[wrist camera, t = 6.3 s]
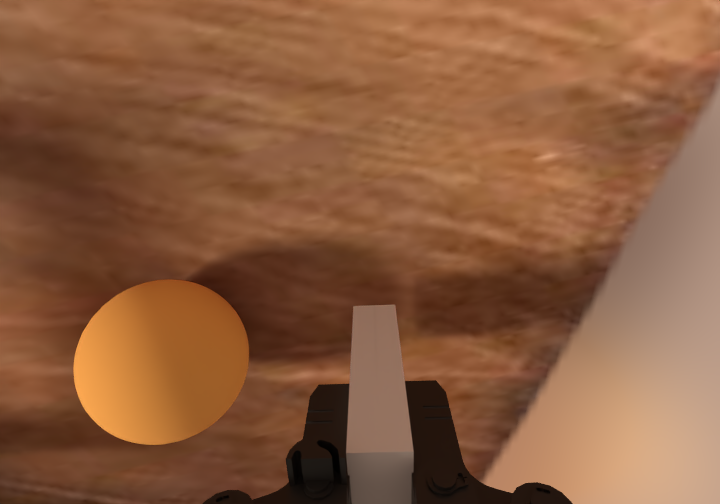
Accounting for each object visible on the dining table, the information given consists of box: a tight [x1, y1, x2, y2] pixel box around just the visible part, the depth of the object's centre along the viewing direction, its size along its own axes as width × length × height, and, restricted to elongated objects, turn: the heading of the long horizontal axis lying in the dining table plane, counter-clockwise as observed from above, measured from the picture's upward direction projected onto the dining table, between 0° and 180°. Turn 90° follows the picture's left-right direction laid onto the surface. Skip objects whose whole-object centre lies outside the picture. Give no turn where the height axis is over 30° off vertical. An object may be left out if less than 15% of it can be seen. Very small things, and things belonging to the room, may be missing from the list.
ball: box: [74, 279, 249, 445], centre depth 15 cm, size 6×6×6 cm
